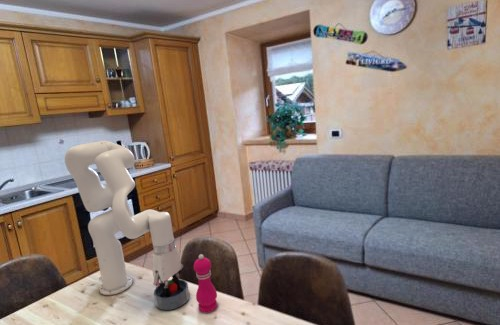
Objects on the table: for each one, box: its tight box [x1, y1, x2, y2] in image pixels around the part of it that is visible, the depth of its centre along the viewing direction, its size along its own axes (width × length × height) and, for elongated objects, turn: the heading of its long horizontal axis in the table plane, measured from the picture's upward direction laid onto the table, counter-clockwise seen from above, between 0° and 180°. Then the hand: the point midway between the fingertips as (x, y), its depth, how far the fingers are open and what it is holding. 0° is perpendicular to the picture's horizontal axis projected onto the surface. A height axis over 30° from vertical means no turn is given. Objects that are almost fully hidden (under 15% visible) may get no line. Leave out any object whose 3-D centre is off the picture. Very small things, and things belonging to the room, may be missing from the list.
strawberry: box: [168, 279, 177, 295], centre depth 116 cm, size 4×4×5 cm
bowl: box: [153, 278, 190, 311], centre depth 116 cm, size 12×12×5 cm
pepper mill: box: [193, 253, 218, 314], centre depth 109 cm, size 7×7×20 cm
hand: (171, 292), depth 116 cm, fingers closed on strawberry, 4 cm apart
